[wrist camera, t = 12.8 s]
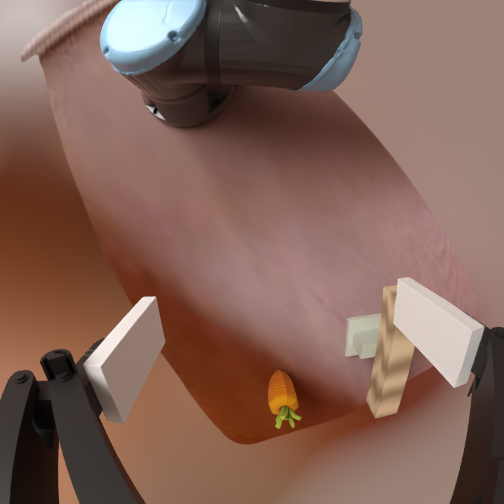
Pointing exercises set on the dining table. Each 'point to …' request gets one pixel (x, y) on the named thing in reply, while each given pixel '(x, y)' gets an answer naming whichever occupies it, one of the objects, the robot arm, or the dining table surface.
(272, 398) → the carrot
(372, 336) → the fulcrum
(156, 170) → the dining table surface
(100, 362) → the robot arm
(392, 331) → the birch bar
